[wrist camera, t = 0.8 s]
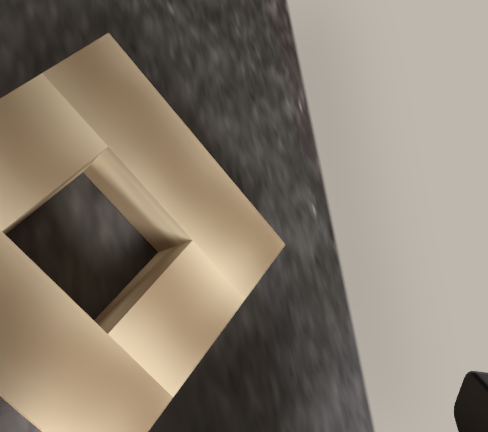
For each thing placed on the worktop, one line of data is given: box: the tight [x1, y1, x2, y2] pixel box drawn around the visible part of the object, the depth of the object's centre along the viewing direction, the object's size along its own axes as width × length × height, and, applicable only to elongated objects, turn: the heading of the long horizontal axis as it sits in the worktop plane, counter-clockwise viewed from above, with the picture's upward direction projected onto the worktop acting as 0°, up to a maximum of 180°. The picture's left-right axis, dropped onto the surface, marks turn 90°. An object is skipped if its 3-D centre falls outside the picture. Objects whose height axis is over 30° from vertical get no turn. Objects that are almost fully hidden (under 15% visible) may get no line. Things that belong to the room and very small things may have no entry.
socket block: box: [0, 33, 285, 432], centre depth 19 cm, size 12×12×4 cm
